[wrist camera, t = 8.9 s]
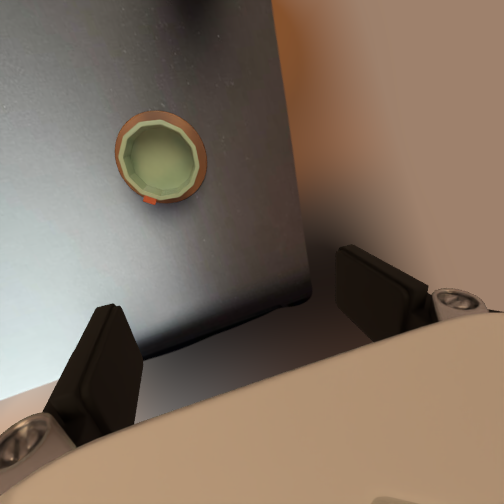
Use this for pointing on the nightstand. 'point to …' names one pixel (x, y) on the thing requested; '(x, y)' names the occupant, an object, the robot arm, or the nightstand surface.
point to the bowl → (158, 160)
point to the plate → (188, 131)
